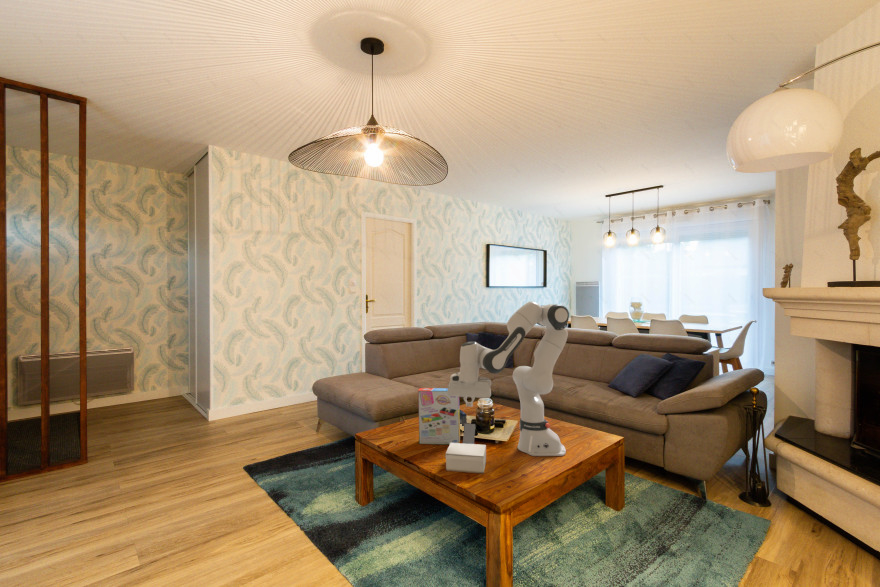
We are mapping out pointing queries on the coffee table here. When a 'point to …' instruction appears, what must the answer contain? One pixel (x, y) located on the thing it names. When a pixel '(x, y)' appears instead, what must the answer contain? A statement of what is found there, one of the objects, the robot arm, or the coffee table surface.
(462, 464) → the mailer box
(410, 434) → the coffee table surface
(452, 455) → the lid
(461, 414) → the vhs cassette tape
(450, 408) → the game box
